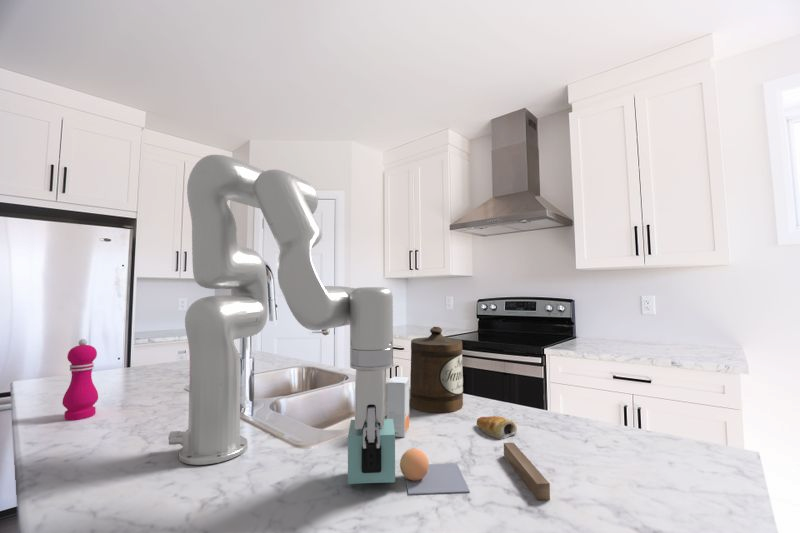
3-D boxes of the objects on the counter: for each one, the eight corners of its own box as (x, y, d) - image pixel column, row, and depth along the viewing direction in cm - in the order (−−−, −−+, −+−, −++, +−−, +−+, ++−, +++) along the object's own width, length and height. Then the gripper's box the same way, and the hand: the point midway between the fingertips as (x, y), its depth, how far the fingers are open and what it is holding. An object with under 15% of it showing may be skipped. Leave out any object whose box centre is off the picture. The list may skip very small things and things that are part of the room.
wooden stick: (537, 500, 61) (537, 483, 61) (503, 455, 77) (503, 442, 77) (550, 499, 61) (549, 483, 61) (513, 455, 77) (513, 442, 77)
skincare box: (405, 438, 86) (404, 383, 87) (386, 436, 87) (386, 382, 88) (409, 428, 92) (409, 376, 93) (392, 427, 93) (392, 376, 93)
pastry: (469, 428, 92) (469, 412, 92) (489, 423, 96) (489, 407, 96) (500, 442, 84) (499, 424, 85) (520, 435, 88) (520, 418, 88)
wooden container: (458, 415, 101) (457, 330, 102) (403, 410, 105) (403, 328, 107) (466, 399, 115) (465, 324, 116) (418, 395, 120) (418, 323, 121)
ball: (418, 450, 65) (436, 473, 65) (415, 438, 70) (432, 459, 70) (394, 469, 65) (413, 492, 65) (393, 456, 70) (410, 477, 70)
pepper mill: (102, 415, 102) (105, 338, 103) (68, 423, 96) (71, 341, 97) (91, 410, 106) (93, 336, 107) (57, 418, 100) (60, 339, 101)
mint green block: (347, 483, 63) (347, 435, 64) (350, 462, 71) (350, 419, 71) (395, 482, 64) (395, 434, 64) (393, 461, 71) (393, 418, 72)
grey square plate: (408, 494, 63) (408, 493, 63) (403, 466, 73) (403, 465, 73) (469, 492, 63) (469, 491, 63) (456, 464, 73) (456, 463, 73)
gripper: (353, 350, 77) (353, 441, 76) (346, 368, 59) (346, 487, 58) (391, 349, 77) (391, 440, 76) (395, 367, 60) (396, 485, 59)
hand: (371, 459), depth 67 cm, fingers closed on mint green block, 7 cm apart
